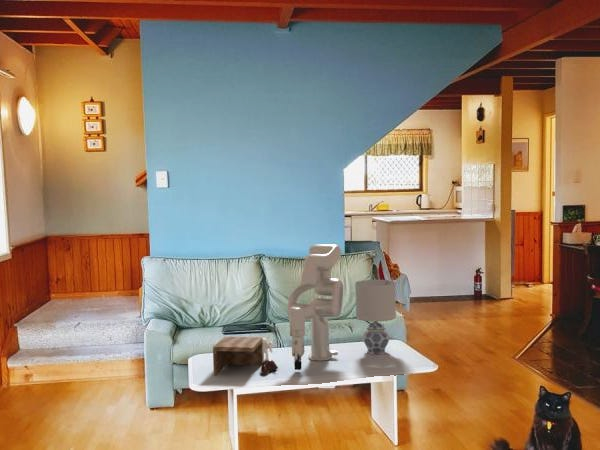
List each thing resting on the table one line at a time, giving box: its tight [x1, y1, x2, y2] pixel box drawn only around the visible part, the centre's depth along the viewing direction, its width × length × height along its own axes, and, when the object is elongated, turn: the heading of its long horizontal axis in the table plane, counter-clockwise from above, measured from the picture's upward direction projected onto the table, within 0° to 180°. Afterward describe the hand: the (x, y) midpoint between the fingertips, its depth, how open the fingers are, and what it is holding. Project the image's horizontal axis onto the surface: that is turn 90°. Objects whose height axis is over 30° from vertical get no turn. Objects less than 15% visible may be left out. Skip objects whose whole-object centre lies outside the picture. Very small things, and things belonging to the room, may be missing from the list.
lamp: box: [354, 279, 397, 355], centre depth 315 cm, size 22×22×38 cm
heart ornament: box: [260, 359, 279, 377], centre depth 286 cm, size 6×12×11 cm
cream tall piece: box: [262, 335, 274, 361], centre depth 307 cm, size 9×4×12 cm, turn 98°
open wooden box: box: [212, 336, 264, 376], centre depth 289 cm, size 20×20×14 cm
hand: (298, 369), depth 284 cm, fingers closed
